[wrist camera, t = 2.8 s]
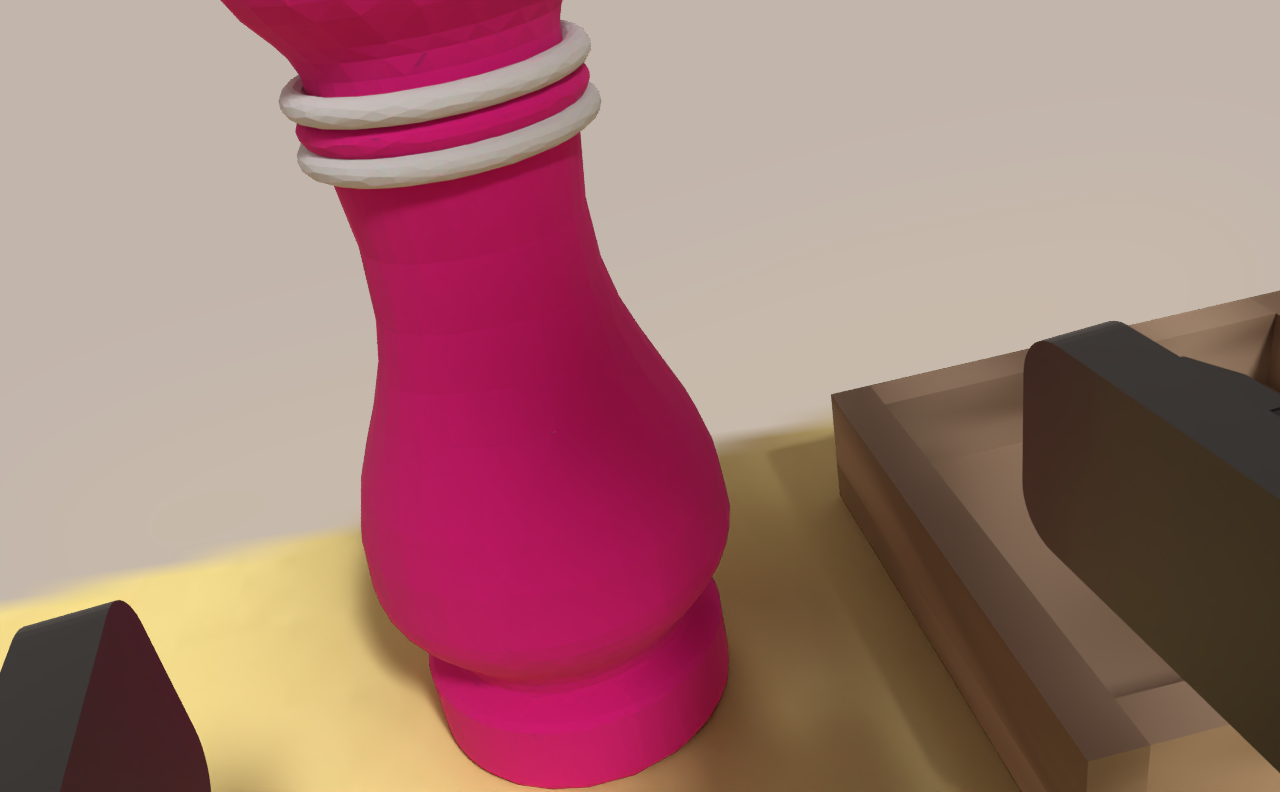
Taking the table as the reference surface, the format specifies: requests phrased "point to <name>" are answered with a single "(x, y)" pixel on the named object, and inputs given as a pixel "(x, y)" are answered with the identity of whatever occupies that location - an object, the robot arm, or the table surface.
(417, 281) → the pepper mill
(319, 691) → the table surface
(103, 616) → the robot arm
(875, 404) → the tray
